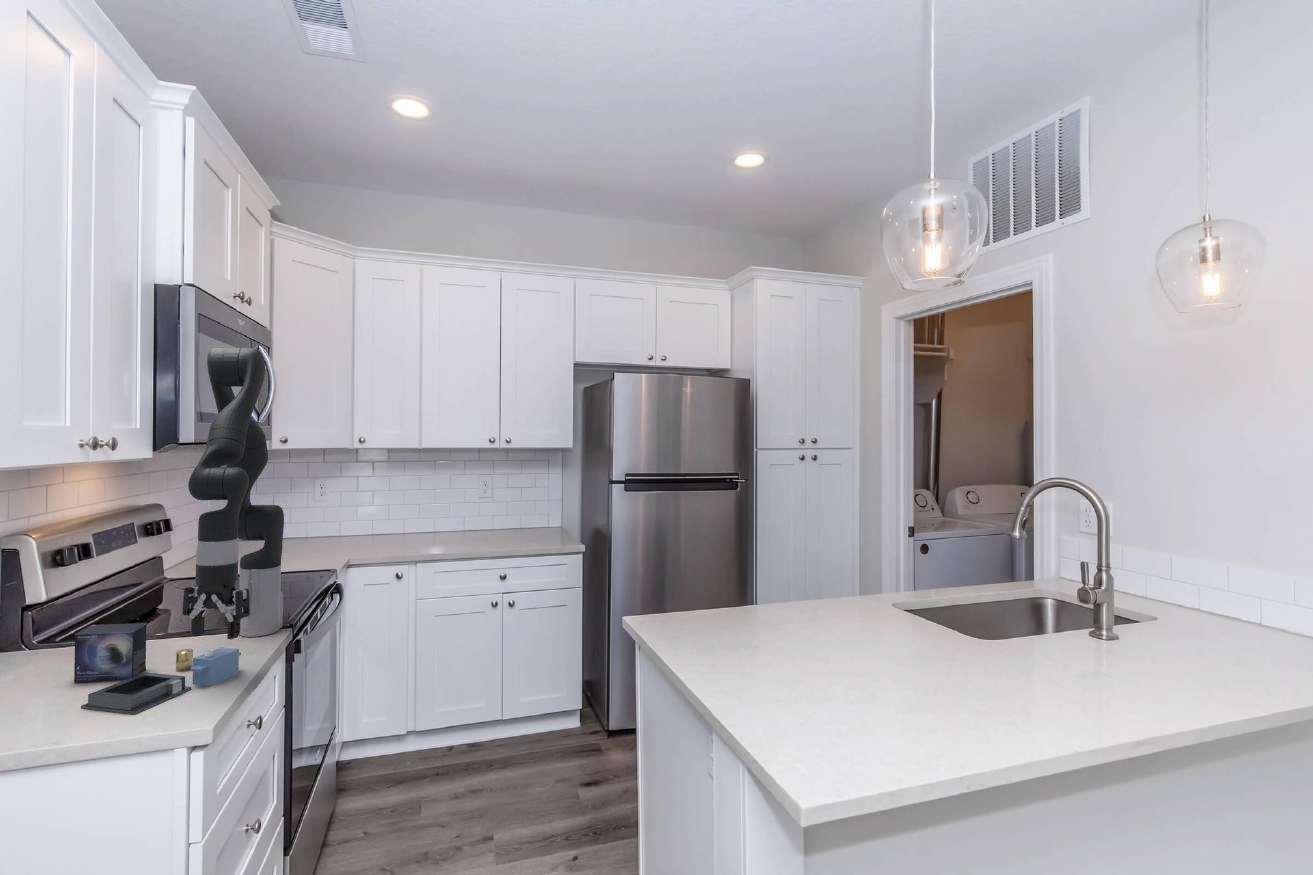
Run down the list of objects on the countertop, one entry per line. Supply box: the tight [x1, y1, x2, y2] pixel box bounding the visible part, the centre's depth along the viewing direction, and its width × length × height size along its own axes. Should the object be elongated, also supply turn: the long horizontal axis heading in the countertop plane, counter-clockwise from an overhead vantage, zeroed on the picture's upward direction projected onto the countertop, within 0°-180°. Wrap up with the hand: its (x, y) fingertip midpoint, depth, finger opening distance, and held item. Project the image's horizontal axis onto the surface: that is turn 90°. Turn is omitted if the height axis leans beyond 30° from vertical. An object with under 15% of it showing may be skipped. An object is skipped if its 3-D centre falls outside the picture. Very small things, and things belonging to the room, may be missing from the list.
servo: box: [189, 646, 242, 687], centre depth 138 cm, size 10×4×6 cm, turn 170°
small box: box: [73, 622, 148, 684], centre depth 137 cm, size 11×6×10 cm, turn 105°
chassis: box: [80, 671, 192, 716], centre depth 127 cm, size 12×12×3 cm
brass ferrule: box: [175, 648, 194, 673], centre depth 143 cm, size 3×3×4 cm
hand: (215, 636), depth 137 cm, fingers open, 8 cm apart
